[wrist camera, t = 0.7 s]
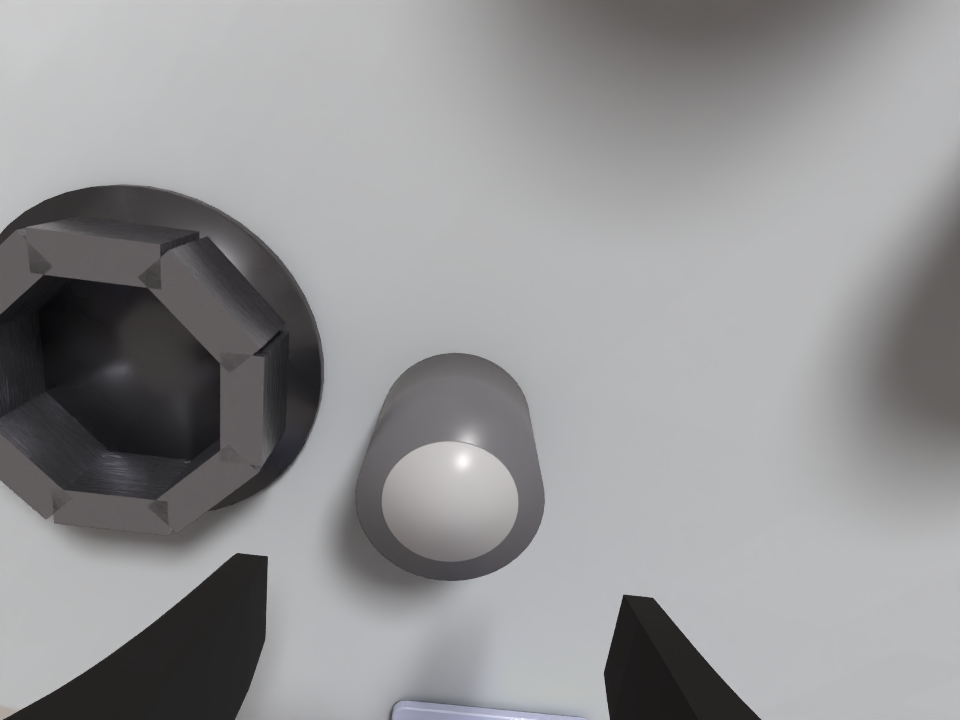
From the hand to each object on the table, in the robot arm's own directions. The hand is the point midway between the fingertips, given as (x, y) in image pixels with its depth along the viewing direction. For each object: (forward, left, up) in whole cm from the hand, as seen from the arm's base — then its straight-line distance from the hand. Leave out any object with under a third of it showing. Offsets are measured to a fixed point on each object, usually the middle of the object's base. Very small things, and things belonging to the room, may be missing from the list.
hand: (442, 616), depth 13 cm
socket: (+1, +10, -9) cm, 14 cm away
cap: (0, 0, -9) cm, 9 cm away
